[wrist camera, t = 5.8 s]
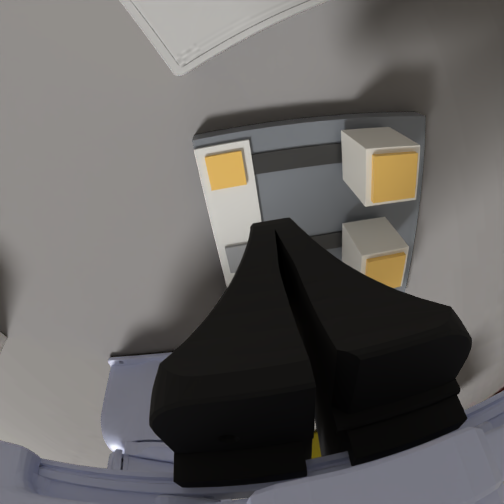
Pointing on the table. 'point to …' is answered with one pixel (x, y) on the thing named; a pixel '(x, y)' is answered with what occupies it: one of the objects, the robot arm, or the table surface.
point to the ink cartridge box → (2, 341)
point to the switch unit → (295, 181)
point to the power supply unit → (206, 25)
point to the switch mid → (375, 250)
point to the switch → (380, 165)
